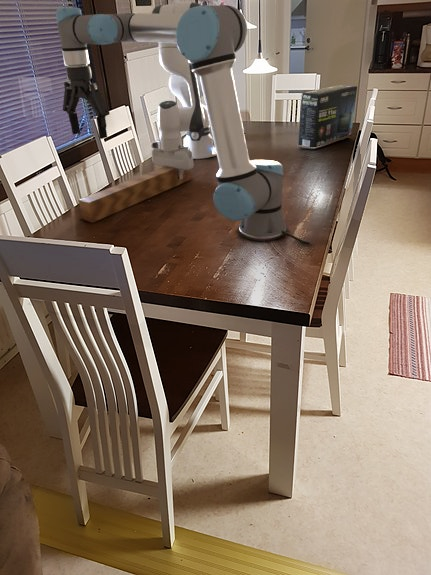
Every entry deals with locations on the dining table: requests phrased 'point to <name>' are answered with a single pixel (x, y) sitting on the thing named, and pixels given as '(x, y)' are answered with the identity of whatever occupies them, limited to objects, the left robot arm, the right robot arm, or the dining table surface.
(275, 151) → the dining table surface
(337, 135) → the router box
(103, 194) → the bar
